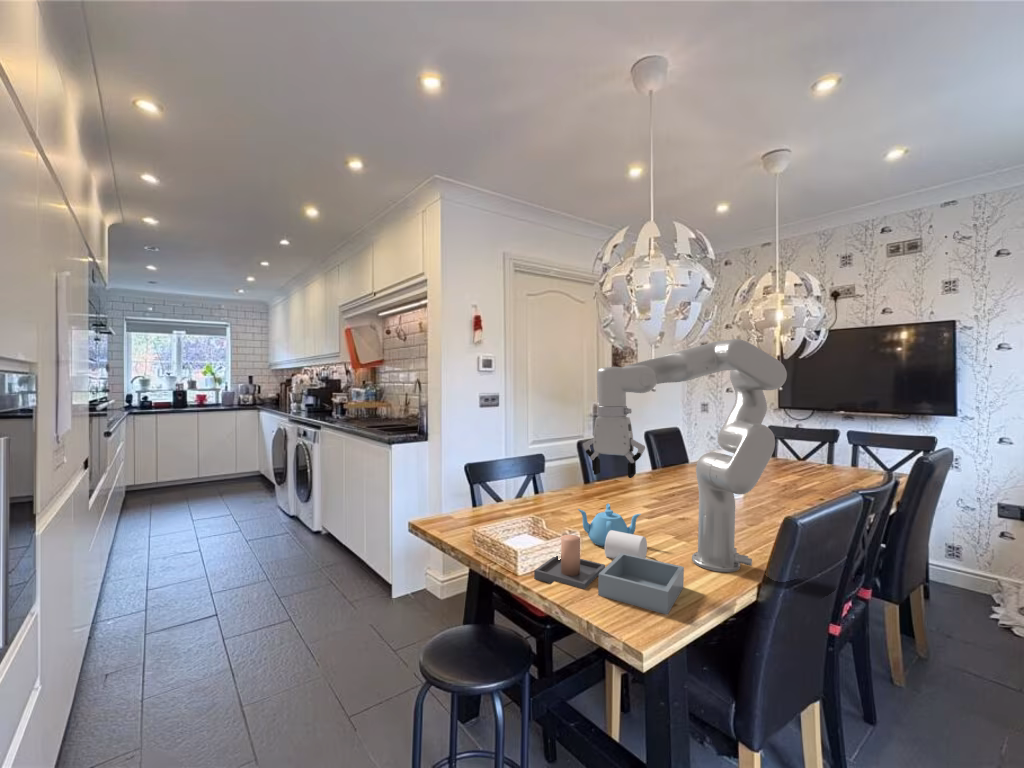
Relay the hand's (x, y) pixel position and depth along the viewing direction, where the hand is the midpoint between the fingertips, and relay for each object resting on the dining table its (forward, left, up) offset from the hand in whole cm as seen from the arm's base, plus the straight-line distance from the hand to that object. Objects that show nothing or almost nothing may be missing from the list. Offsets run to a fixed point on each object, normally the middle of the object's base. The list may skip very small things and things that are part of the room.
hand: (613, 475), depth 123 cm
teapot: (+9, -22, -26) cm, 35 cm away
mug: (-1, -11, -27) cm, 29 cm away
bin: (-11, +9, -26) cm, 30 cm away
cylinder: (+8, +9, -25) cm, 28 cm away
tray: (+8, +9, -26) cm, 29 cm away
